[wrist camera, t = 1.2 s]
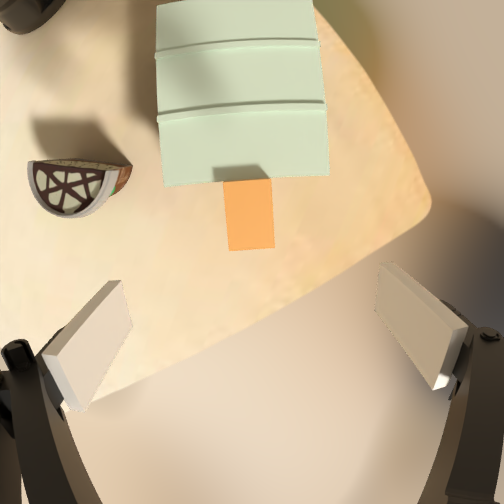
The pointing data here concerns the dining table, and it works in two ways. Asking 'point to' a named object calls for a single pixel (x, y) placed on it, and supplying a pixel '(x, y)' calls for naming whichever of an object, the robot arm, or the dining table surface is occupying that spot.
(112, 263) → the dining table surface
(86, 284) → the dining table surface
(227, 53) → the lid
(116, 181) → the food container
